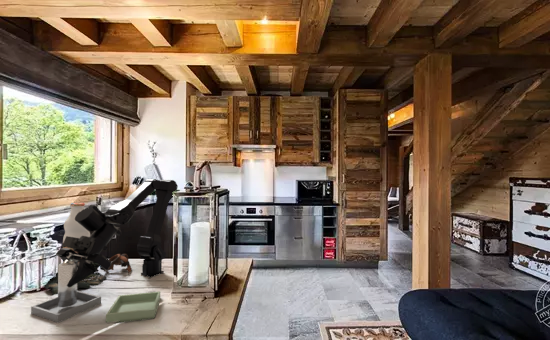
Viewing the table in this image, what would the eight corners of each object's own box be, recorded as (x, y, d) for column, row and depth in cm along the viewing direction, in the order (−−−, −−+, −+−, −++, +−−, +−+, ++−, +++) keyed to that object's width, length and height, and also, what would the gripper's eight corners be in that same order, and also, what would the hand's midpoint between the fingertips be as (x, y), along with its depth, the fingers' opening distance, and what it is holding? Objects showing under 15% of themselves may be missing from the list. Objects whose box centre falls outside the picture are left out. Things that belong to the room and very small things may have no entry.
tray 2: (118, 303, 87) (118, 295, 87) (160, 299, 91) (160, 291, 91) (105, 324, 76) (106, 314, 76) (154, 318, 79) (154, 309, 79)
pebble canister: (72, 298, 86) (73, 257, 86) (80, 302, 84) (80, 259, 84) (55, 304, 82) (55, 261, 82) (62, 308, 80) (62, 264, 80)
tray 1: (75, 297, 91) (75, 289, 91) (101, 304, 86) (101, 296, 86) (31, 315, 80) (31, 306, 80) (57, 324, 75) (58, 315, 75)
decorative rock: (94, 264, 113) (117, 267, 106) (94, 279, 113) (117, 284, 106) (38, 276, 97) (60, 281, 90) (36, 294, 96) (59, 300, 89)
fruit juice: (58, 270, 115) (59, 203, 116) (83, 264, 123) (83, 201, 124) (69, 275, 111) (70, 205, 111) (94, 268, 119) (95, 202, 119)
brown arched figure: (128, 276, 111) (117, 260, 109) (107, 286, 111) (95, 271, 109) (139, 259, 123) (128, 245, 121) (119, 269, 123) (108, 254, 120)
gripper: (62, 223, 90) (20, 267, 80) (102, 227, 83) (62, 277, 73) (86, 241, 98) (51, 284, 87) (125, 247, 91) (91, 295, 80)
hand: (62, 285), depth 82 cm, fingers closed on pebble canister, 5 cm apart
